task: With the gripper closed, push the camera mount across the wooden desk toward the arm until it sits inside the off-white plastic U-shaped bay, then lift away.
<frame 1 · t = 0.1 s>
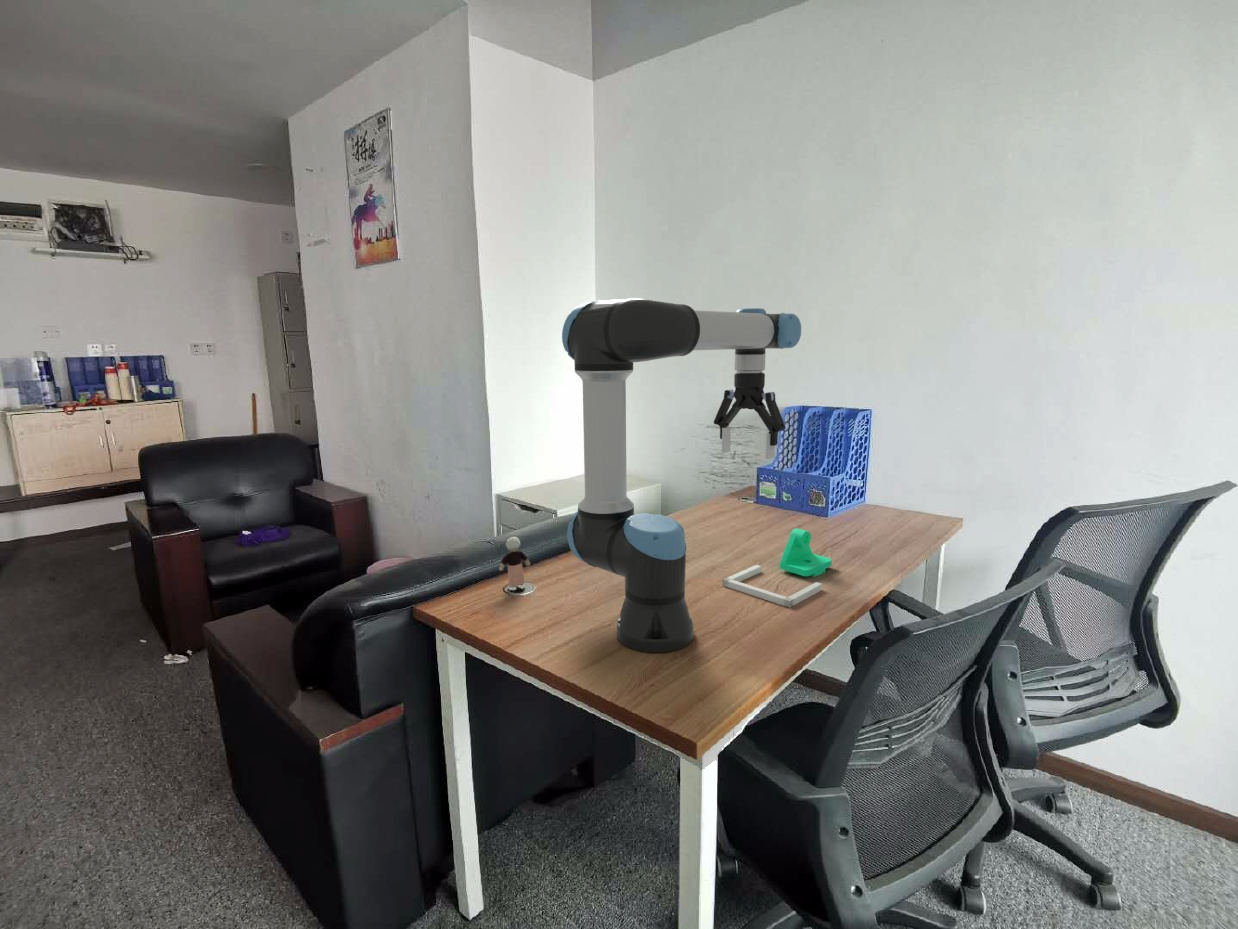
hand: (747, 455, 161), 28 cm above the table, tool pointing down, fingers open, 13 cm apart
grandmother figurine: (515, 589, 148), on the table
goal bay: (776, 585, 148), on the table
camera mount: (806, 571, 158), on the table
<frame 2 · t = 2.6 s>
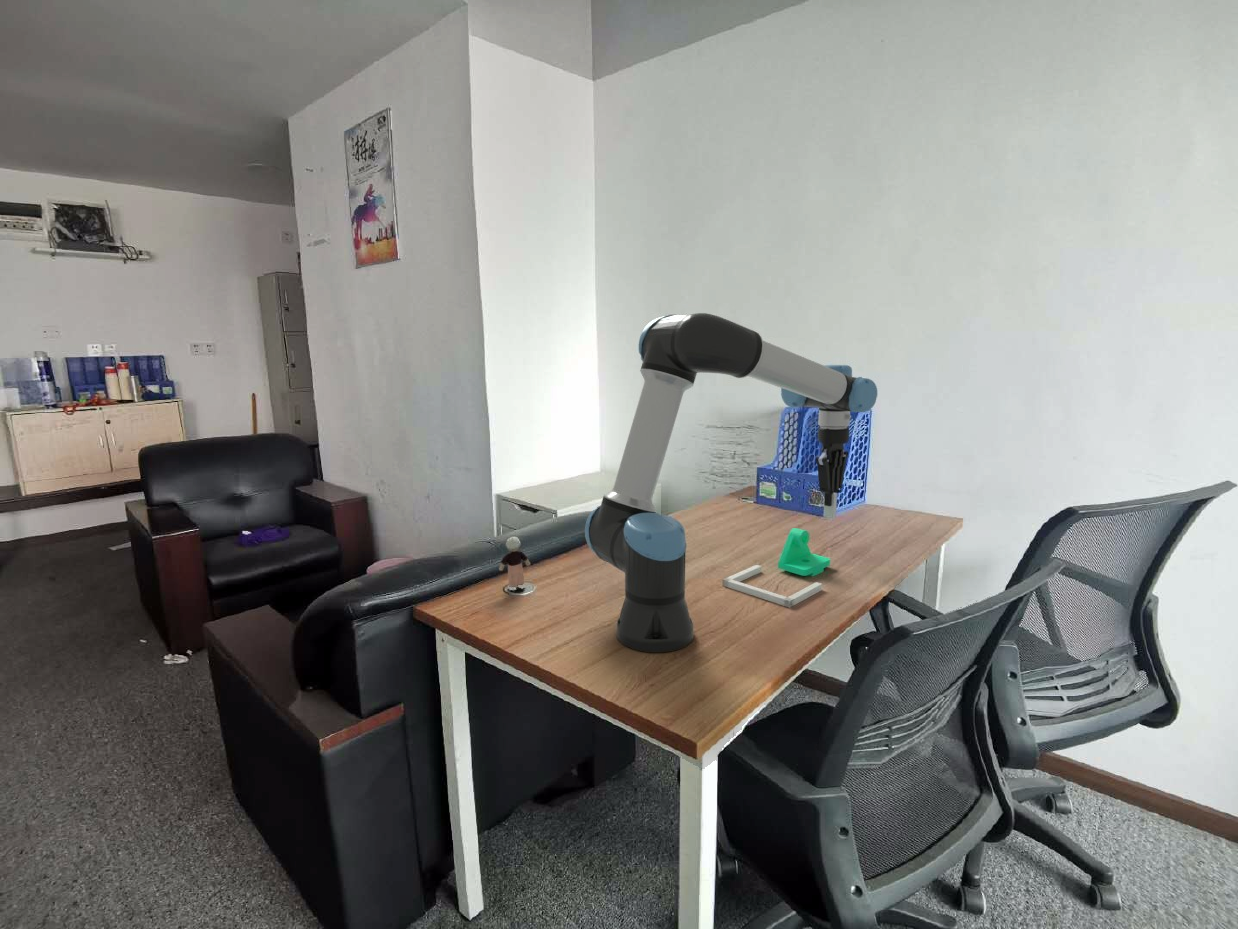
hand: (829, 517, 163), 12 cm above the table, tool pointing down, fingers closed
nothing on the table moved.
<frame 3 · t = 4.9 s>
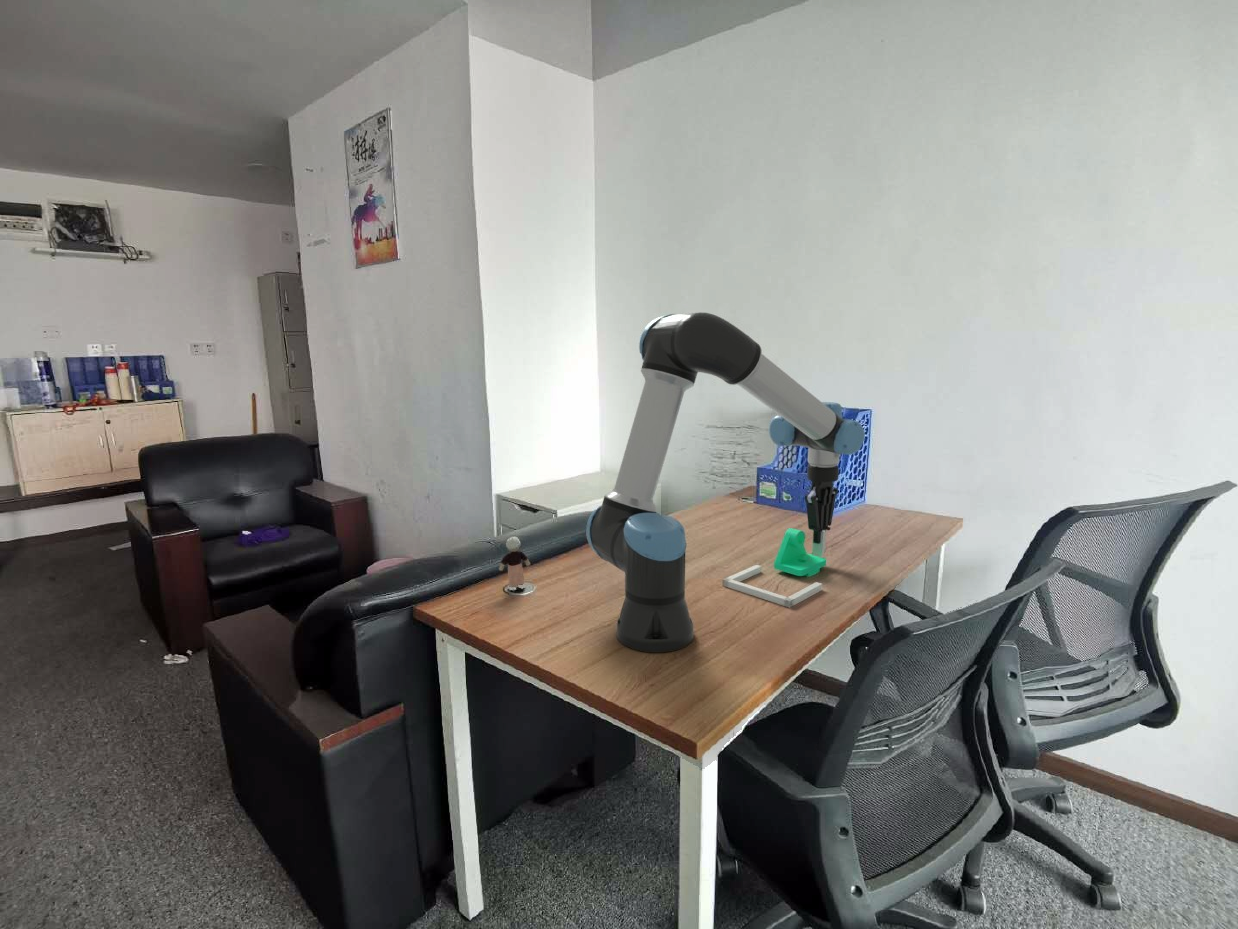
hand: (818, 554, 161), 3 cm above the table, tool pointing down, fingers closed
camera mount: (800, 571, 158), on the table, touching gripper
everything else where it was.
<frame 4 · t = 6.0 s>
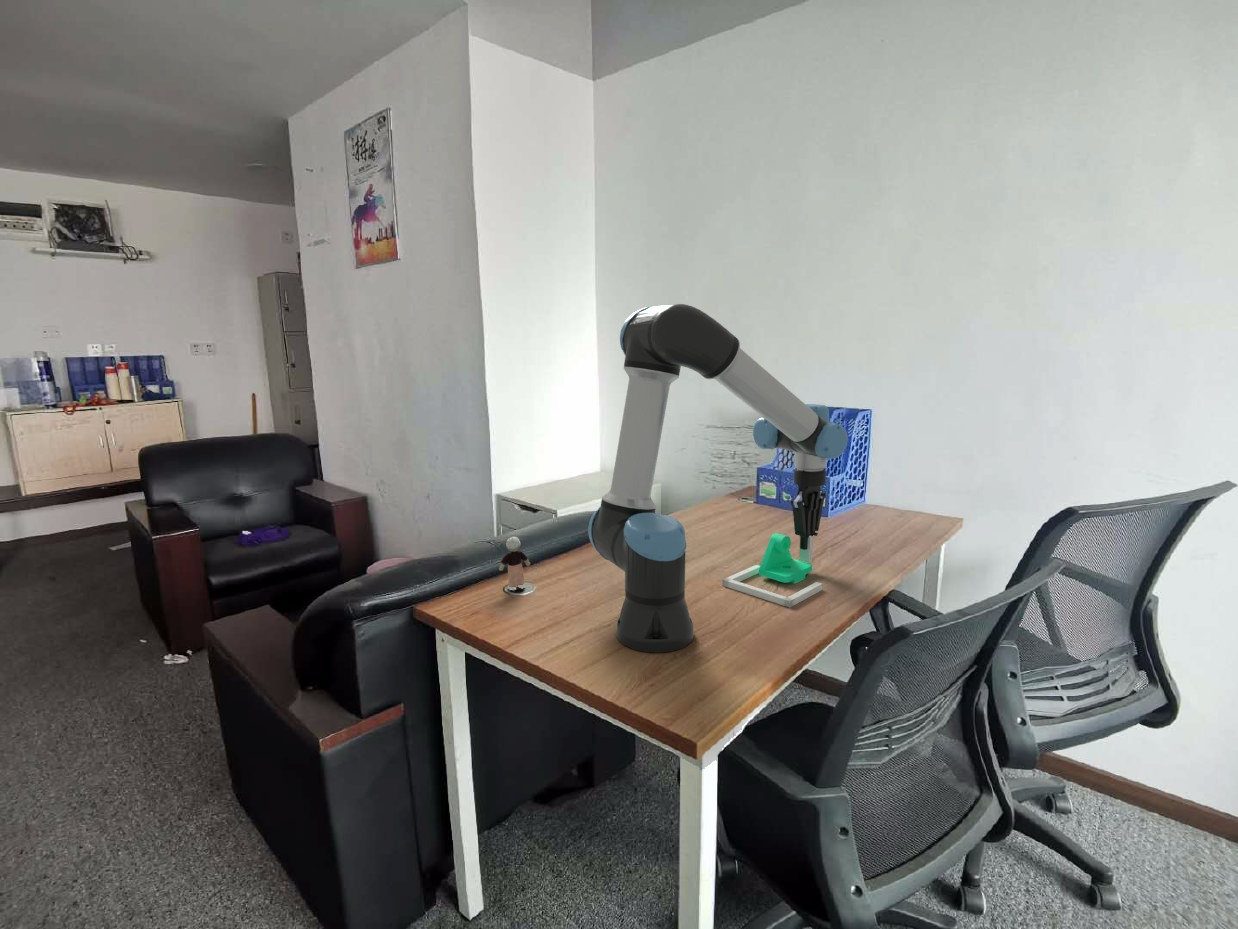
hand: (805, 560, 157), 3 cm above the table, tool pointing down, fingers closed
camera mount: (786, 577, 154), on the table
everything else where it was.
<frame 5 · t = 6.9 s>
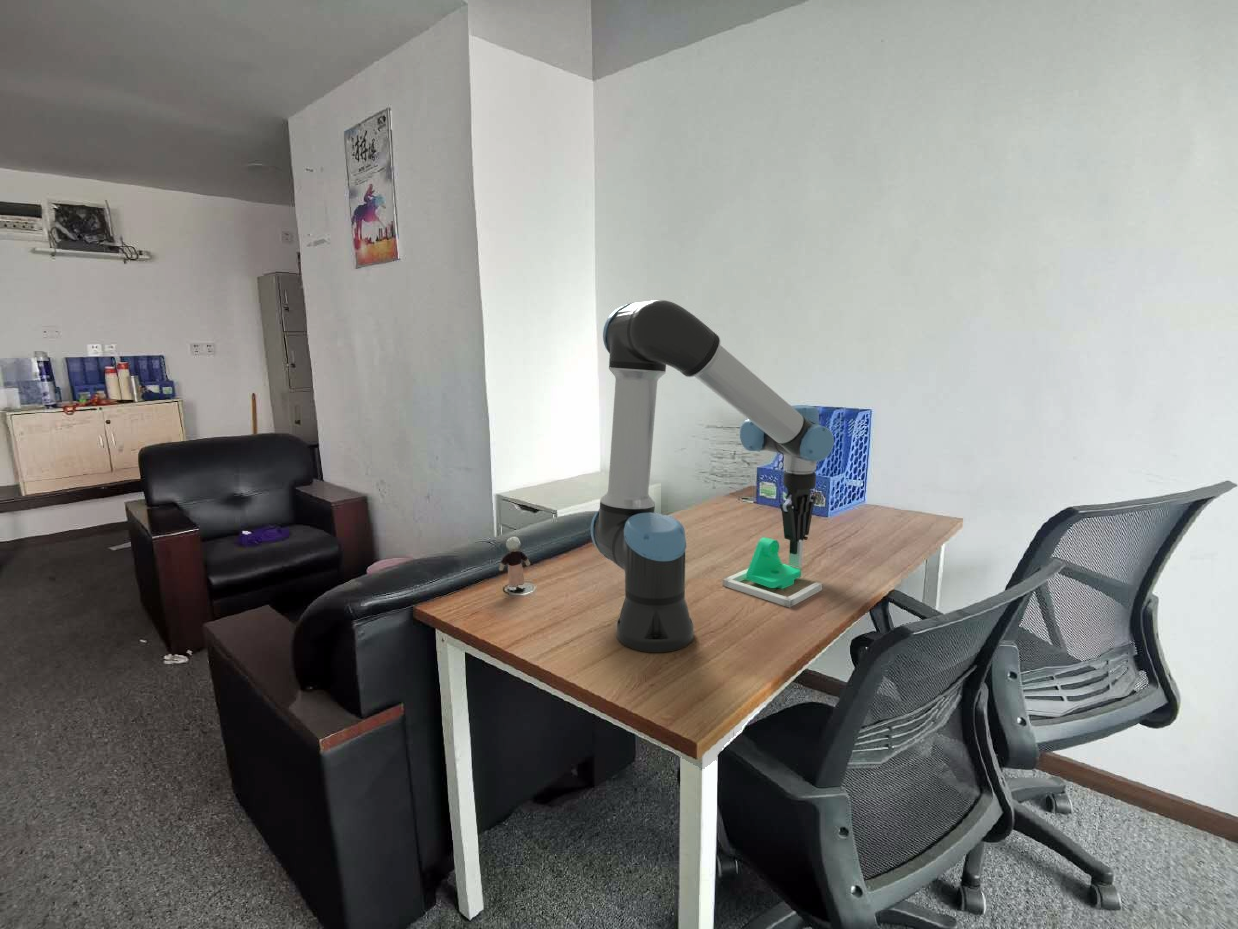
hand: (795, 565, 154), 3 cm above the table, tool pointing down, fingers closed
camera mount: (774, 582, 151), on the table, touching gripper
everything else where it was.
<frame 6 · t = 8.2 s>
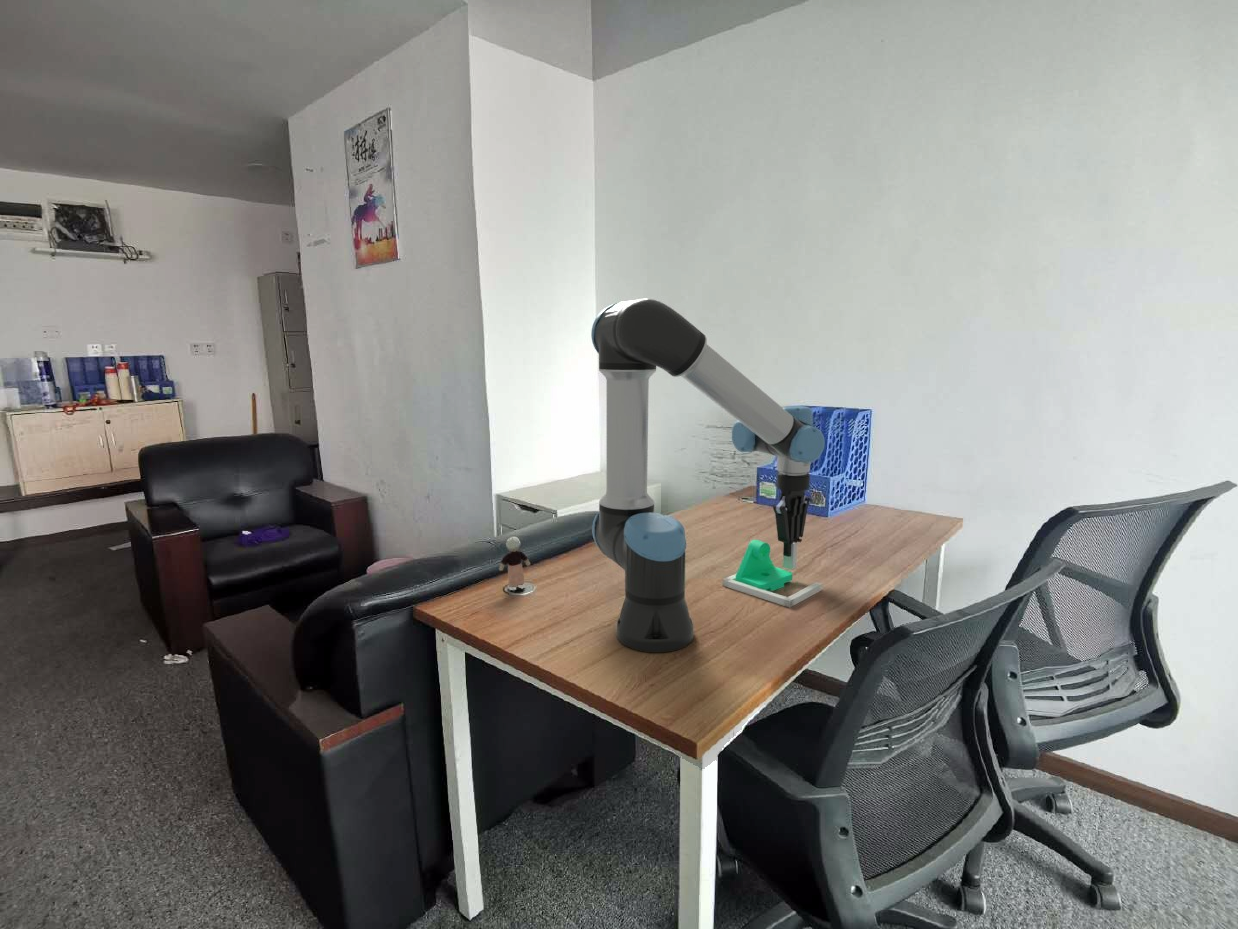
hand: (789, 567, 152), 3 cm above the table, tool pointing down, fingers closed
camera mount: (764, 585, 149), on the table
everything else where it was.
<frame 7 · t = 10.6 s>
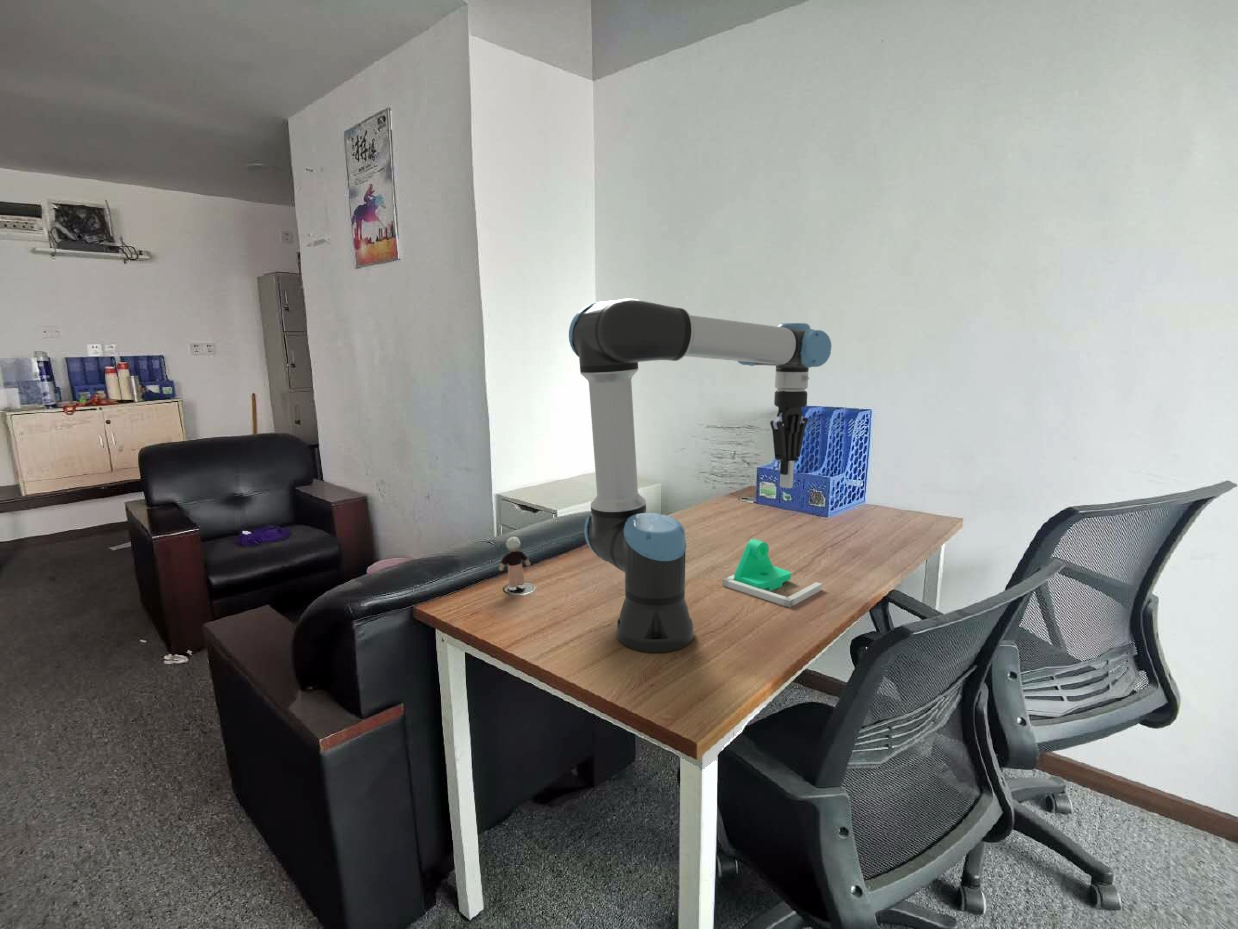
hand: (786, 487, 153), 22 cm above the table, tool pointing down, fingers closed
nothing on the table moved.
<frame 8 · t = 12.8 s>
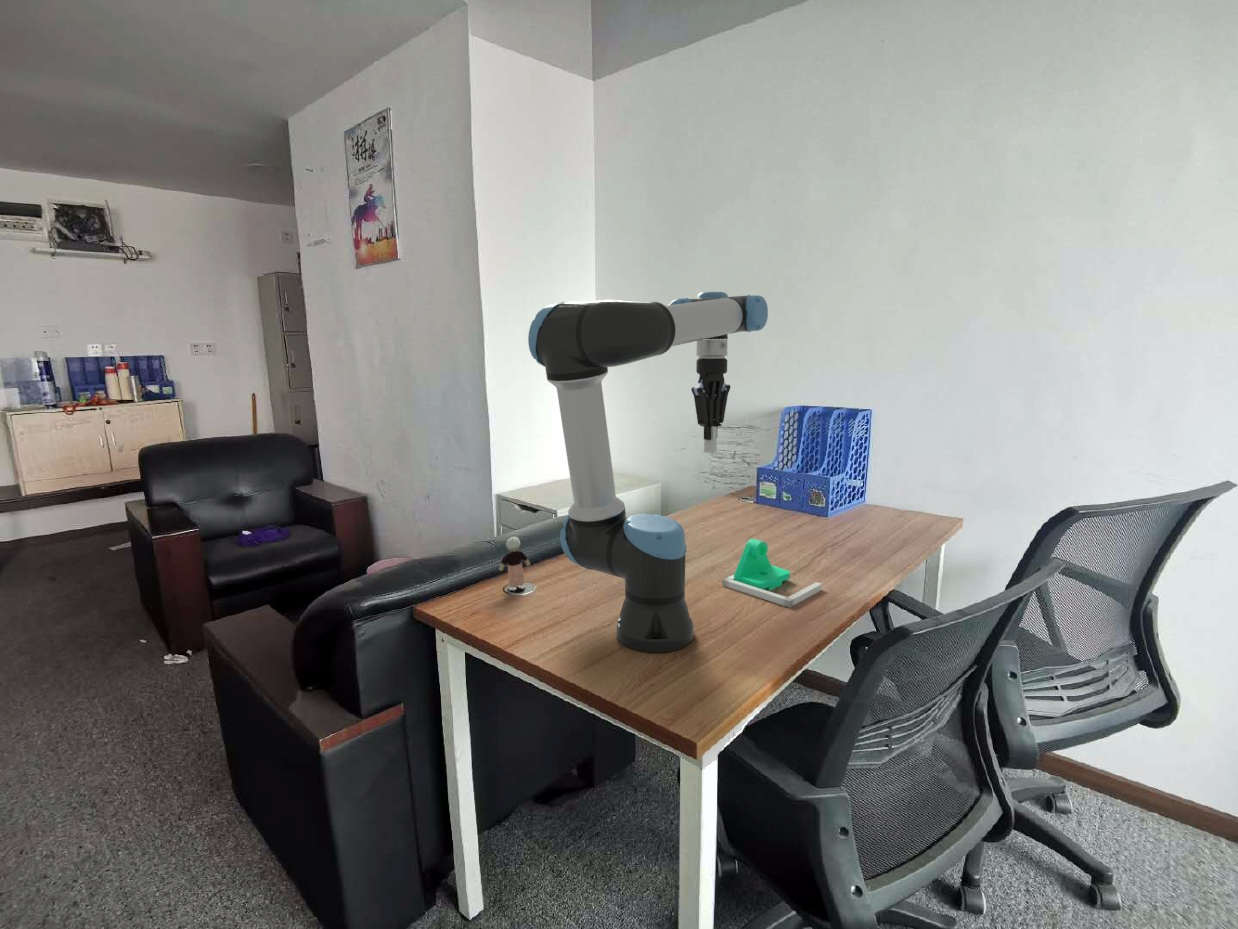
hand: (710, 452, 158), 29 cm above the table, tool pointing down, fingers closed
nothing on the table moved.
at the end: camera mount inside the target area on the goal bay (3.3 cm from its centre), point 0.0 cm above the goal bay's base; camera mount tilted 0°; the gripper is holding nothing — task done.
